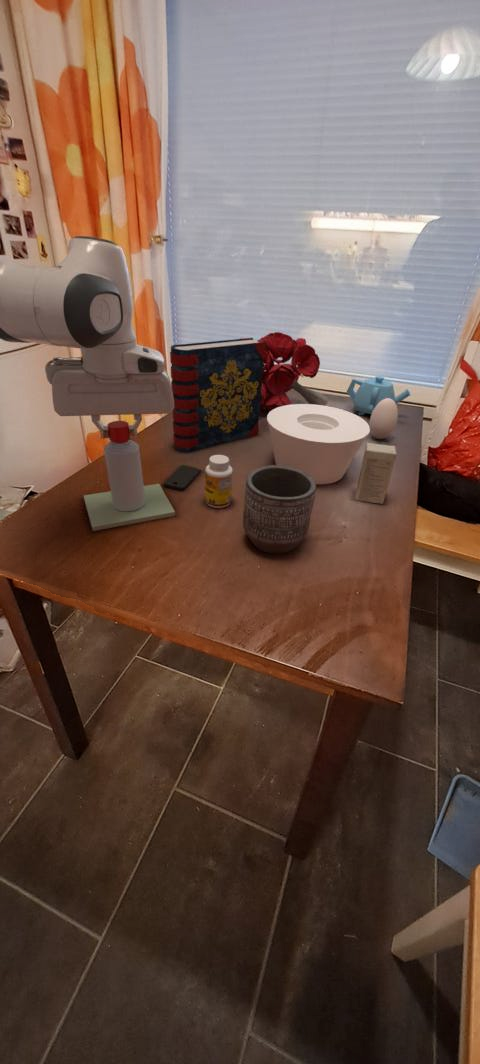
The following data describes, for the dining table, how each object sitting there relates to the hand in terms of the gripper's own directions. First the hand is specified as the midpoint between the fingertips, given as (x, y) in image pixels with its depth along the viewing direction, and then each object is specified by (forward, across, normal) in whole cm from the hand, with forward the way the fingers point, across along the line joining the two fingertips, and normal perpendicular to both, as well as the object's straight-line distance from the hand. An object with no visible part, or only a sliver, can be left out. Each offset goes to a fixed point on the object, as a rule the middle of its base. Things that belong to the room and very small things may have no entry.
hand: (119, 436), depth 77 cm
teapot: (+16, +80, +49) cm, 95 cm away
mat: (+15, 0, 0) cm, 15 cm away
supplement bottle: (+16, +18, 0) cm, 24 cm away
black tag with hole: (+15, +12, +10) cm, 22 cm away
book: (+16, +23, +32) cm, 42 cm away
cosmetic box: (+16, +53, -2) cm, 55 cm away
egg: (+16, +72, +29) cm, 79 cm away
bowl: (+16, +44, +13) cm, 49 cm away
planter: (+16, +27, -15) cm, 34 cm away
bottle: (+14, 0, 0) cm, 14 cm away
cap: (-2, 0, 0) cm, 2 cm away
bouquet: (+16, +49, +54) cm, 75 cm away
